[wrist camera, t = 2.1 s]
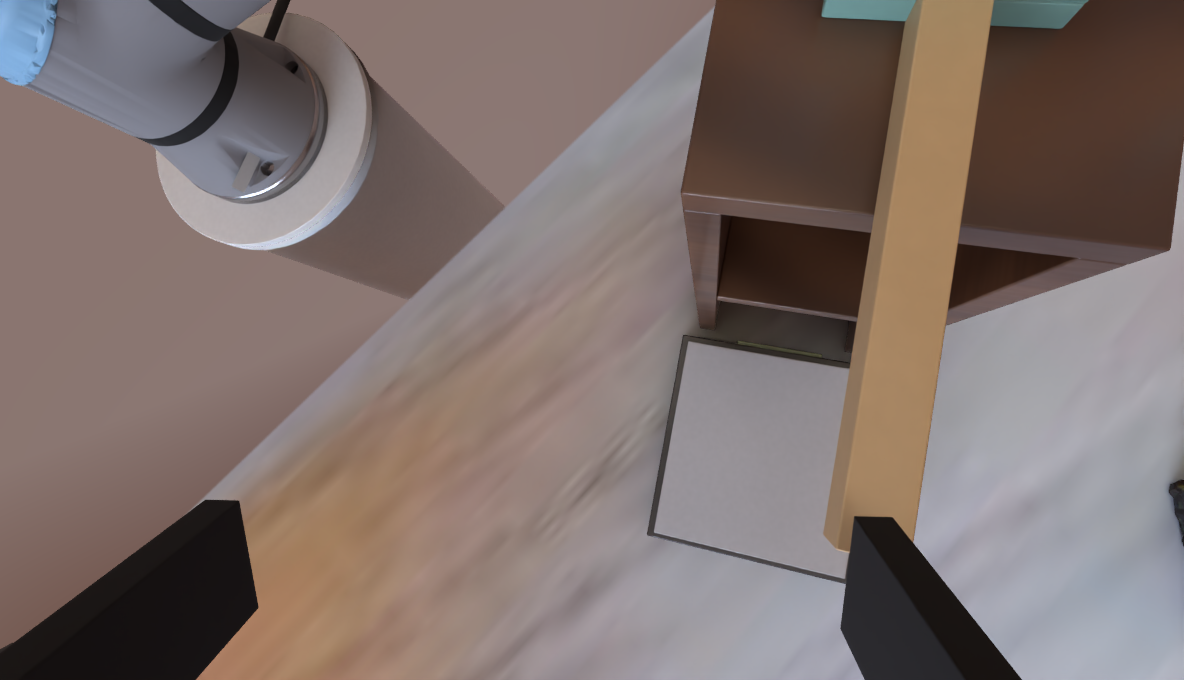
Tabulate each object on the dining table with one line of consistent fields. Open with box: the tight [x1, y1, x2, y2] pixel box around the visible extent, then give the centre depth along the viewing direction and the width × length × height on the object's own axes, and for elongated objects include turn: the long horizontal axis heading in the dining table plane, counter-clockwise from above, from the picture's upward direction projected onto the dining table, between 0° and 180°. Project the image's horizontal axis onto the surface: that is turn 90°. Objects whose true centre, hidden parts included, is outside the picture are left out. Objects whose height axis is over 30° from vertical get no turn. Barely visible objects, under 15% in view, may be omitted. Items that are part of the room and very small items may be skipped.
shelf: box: [681, 0, 1184, 353], centre depth 31 cm, size 14×12×30 cm
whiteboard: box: [647, 335, 850, 584], centre depth 43 cm, size 15×14×3 cm
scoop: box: [821, 0, 1088, 553], centre depth 14 cm, size 21×6×4 cm, turn 169°
